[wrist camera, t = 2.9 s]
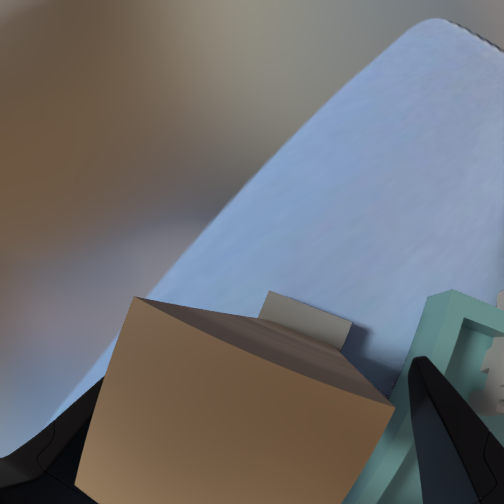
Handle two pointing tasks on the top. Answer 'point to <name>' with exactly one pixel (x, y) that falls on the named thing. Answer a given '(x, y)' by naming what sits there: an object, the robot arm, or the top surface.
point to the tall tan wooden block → (230, 409)
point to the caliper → (491, 377)
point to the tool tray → (456, 372)
